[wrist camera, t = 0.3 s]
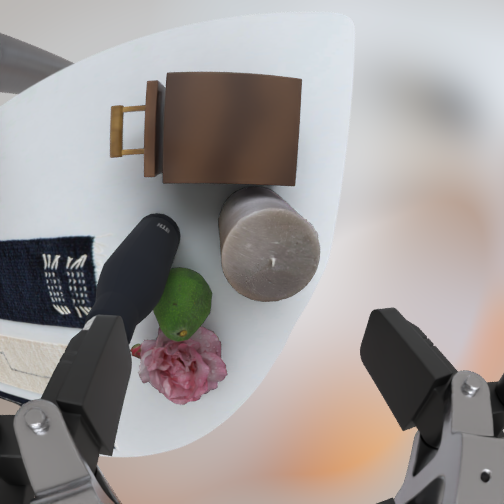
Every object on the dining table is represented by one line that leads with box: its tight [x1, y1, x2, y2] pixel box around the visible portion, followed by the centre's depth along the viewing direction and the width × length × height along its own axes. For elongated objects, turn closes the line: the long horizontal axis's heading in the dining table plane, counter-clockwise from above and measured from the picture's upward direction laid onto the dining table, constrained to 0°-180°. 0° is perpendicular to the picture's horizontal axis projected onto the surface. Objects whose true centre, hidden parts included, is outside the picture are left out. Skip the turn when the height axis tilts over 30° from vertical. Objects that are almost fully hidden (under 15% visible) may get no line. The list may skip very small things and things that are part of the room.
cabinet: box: [163, 72, 302, 186], centre depth 31 cm, size 14×12×9 cm
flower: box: [130, 326, 227, 405], centre depth 42 cm, size 15×15×10 cm
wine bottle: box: [59, 213, 180, 363], centre depth 25 cm, size 6×6×30 cm
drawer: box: [110, 80, 166, 177], centre depth 30 cm, size 17×10×7 cm, turn 87°
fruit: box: [153, 267, 212, 342], centre depth 37 cm, size 8×8×12 cm
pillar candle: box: [218, 187, 320, 302], centre depth 33 cm, size 10×10×15 cm
